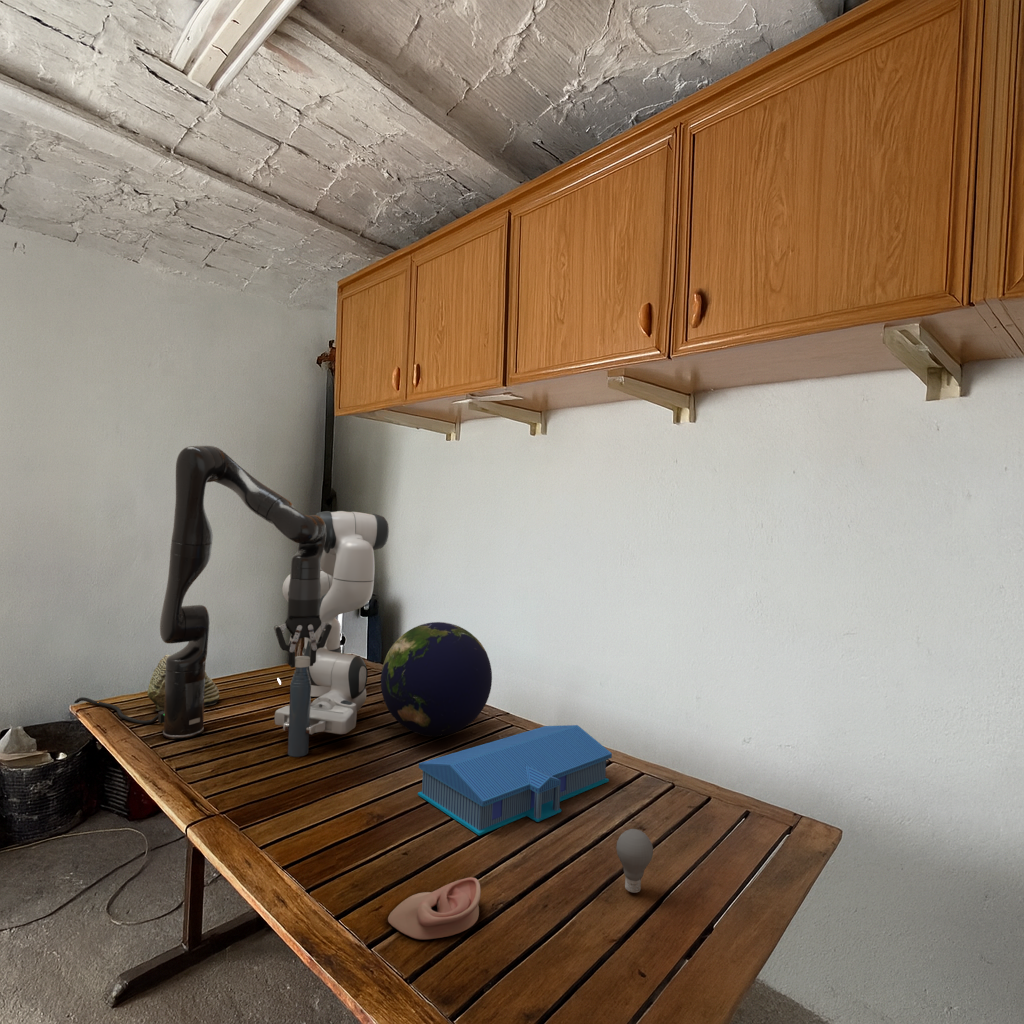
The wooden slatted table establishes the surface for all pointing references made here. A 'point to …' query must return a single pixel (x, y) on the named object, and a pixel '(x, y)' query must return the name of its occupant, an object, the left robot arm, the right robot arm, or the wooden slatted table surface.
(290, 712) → the bottle
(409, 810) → the wooden slatted table surface
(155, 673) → the fossil
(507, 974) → the wooden slatted table surface
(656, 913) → the wooden slatted table surface
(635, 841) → the light bulb
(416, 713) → the globe
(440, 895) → the anatomical model
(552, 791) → the model building
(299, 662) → the cap
